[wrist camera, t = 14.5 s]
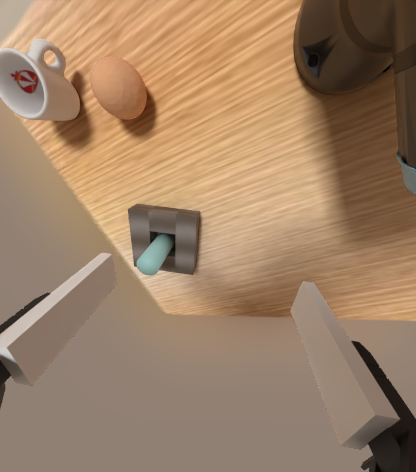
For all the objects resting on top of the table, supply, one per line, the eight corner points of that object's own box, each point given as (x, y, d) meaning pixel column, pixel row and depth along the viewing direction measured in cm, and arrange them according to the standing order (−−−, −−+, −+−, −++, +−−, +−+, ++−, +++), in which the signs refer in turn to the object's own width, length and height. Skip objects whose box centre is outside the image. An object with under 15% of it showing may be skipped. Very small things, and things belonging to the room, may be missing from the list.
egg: (114, 62, 29) (73, 31, 21) (157, 79, 29) (132, 54, 22) (111, 114, 32) (74, 103, 25) (150, 128, 33) (125, 122, 25)
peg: (160, 227, 41) (135, 254, 31) (177, 229, 41) (158, 258, 30) (160, 242, 43) (137, 273, 32) (176, 244, 43) (159, 276, 32)
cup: (54, 39, 29) (-5, 2, 22) (99, 76, 30) (58, 53, 23) (39, 105, 33) (-13, 93, 26) (79, 135, 35) (40, 131, 27)
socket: (137, 203, 39) (127, 209, 36) (200, 211, 38) (196, 217, 35) (141, 257, 46) (134, 266, 42) (196, 264, 45) (193, 274, 41)
